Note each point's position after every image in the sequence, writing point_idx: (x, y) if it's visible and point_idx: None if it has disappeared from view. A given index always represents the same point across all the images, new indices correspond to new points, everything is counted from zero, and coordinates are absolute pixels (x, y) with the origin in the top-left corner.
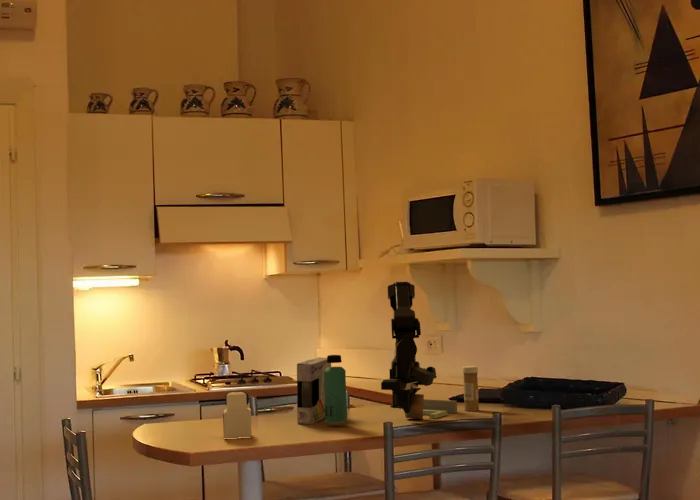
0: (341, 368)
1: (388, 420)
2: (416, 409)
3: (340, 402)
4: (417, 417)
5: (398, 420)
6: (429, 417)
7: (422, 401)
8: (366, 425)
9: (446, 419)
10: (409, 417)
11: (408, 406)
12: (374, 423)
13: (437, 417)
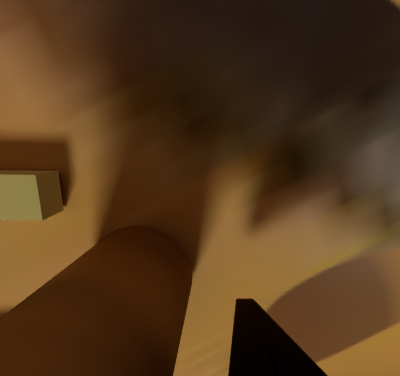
0: None
1: (221, 367)
2: (163, 289)
3: None
4: (169, 245)
5: (203, 328)
6: (59, 209)
7: (29, 333)
8: (392, 369)
9: (30, 76)
10: (190, 288)
11: (287, 343)
12: (329, 371)
13: (6, 170)
